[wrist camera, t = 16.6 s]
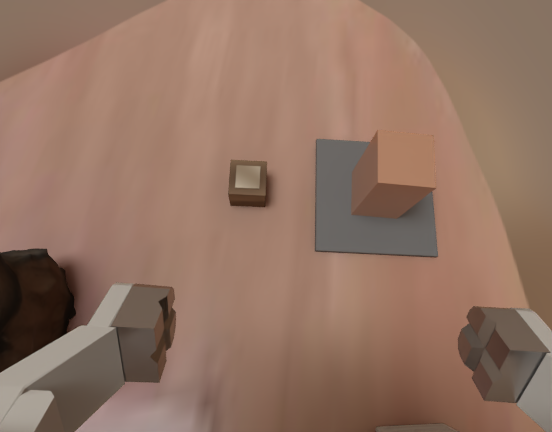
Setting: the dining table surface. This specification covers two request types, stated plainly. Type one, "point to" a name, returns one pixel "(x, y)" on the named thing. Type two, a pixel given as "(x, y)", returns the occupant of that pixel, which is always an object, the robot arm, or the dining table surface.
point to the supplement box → (417, 428)
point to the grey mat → (364, 229)
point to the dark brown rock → (31, 304)
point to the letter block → (247, 183)
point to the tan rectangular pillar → (393, 174)
